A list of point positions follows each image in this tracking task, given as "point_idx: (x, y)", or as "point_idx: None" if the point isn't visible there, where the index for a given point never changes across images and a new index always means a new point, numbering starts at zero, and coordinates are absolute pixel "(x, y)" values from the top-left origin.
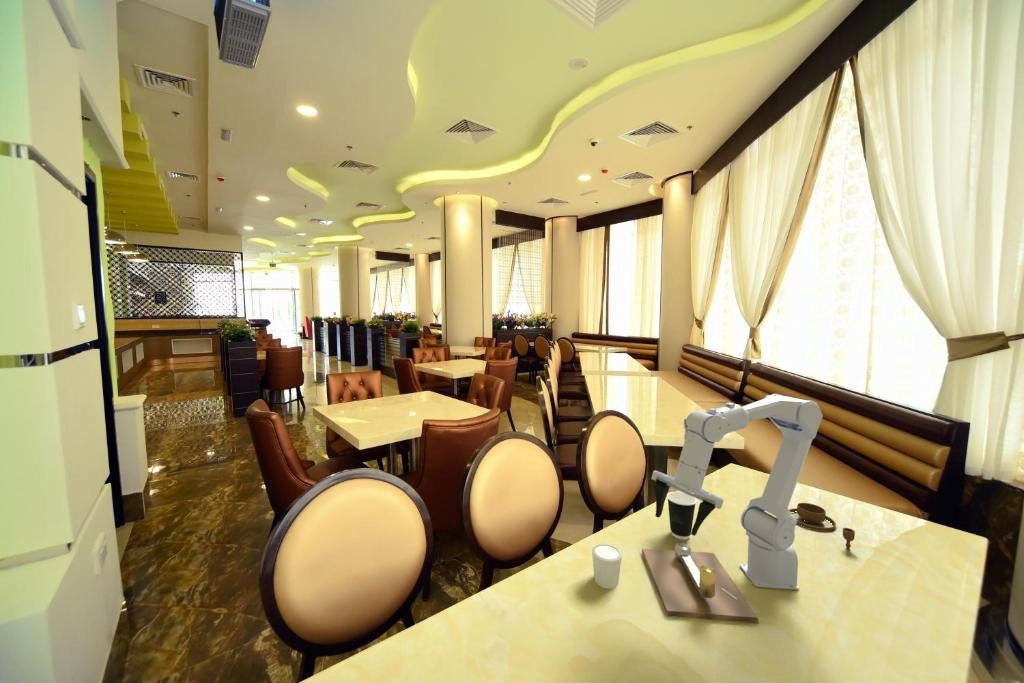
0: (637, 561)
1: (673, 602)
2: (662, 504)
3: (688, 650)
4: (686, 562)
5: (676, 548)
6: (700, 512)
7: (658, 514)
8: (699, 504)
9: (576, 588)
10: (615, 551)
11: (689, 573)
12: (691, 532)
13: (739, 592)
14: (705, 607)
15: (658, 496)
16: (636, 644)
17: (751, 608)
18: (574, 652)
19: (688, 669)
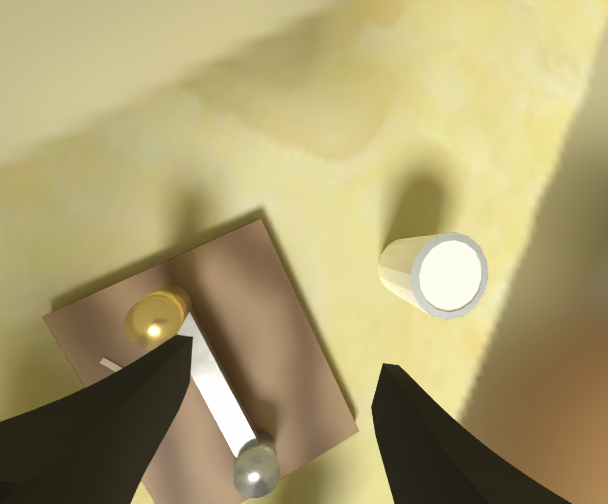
0: (357, 380)
1: (251, 256)
2: (402, 455)
3: (201, 136)
4: (239, 413)
5: (274, 458)
6: (63, 430)
7: (392, 372)
8: (10, 492)
9: (451, 203)
10: (431, 293)
11: (226, 377)
12: (189, 340)
13: None
14: (176, 281)
15: (483, 461)
16: (303, 102)
17: (61, 344)
18: (402, 26)
19: (195, 83)
